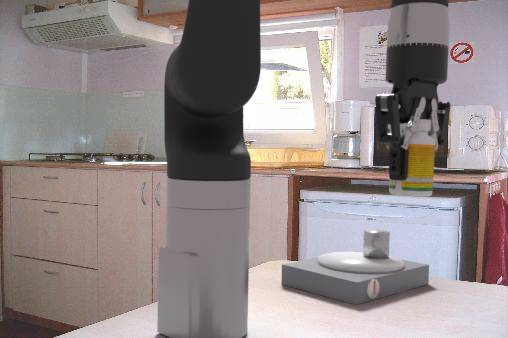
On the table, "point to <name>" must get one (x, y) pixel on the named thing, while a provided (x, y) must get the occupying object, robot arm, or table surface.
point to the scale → (354, 276)
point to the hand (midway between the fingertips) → (411, 179)
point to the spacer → (376, 244)
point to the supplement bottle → (418, 164)
